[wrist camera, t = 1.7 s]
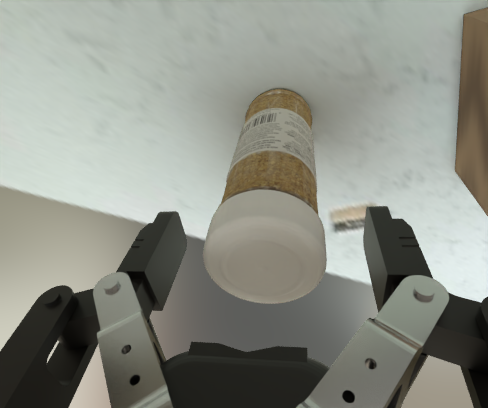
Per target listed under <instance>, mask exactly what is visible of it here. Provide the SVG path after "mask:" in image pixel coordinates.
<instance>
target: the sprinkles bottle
mask: <svg viewBox="0 0 488 408" xmlns="http://www.w3.org/2000/svg"><path fill="white" fill-rule="evenodd" d="M311 125H312V116H311V111H310V109H309V107H308V105H307V103H306V102H305V101H304V99H303V98H302V97H301V96H299V95H297V94H296V93H294V92H291V91H288V90H282V89H274V90H271V91H267V92H265V93H264V94H261V95H259V96H258V97H257V98H256V99H255V100H254V101H253V102H252V103H251V104H250V106H249V109H248V111H247V113H246V118H245V125H244V127H243V129H242V131H241V134H240V137H239V140H238V143H237V146H236V150H235V153H234V156H233V159H232V163H231V166H230V169H229V172H228V176H227V181H226V182H227V184H226V188H225V192H224V196H223V199H222V202H221V204H220V206H219V207H218V209H217V210H216V212H215V214H214V215H213V218H212V220H211V223H210V227H209V230H208V233H207V237H206V241H205V245H204V249H203V259H204V264H205V267H206V269H207V272H208V273H209V275H210V277H211V278H212V279H213V280H214V282H215V283H216V284H217V285H218V286H220V287H221V288H222V289H224V290H225V291H227V292H229V293H230V294H232V295H234V296H236V297H239V298H241V299H244V300H248V301H252V302H258V303H283V302H288V301H292V300H295V299H298V298H300V297H302V296H304V295H306V294H308V293H309V292H310V291H312V290H313V289H314V288H315V287H316V286H317V285H318V284H319V283H320V281H321V279H322V277H323V275H324V273H325V269H326V261H327V259H326V245H325V234H324V228H323V224H322V222H321V220H320V218H319V216H318V209H317V198H316V194H317V182H316V170H315V160H314V146H313V136H312V132H311Z"/></svg>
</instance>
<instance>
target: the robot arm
mask: <svg viewBox="0 0 488 408" xmlns="http://www.w3.org/2000/svg"><path fill="white" fill-rule="evenodd" d="M363 241H364V251H365V255H366V260H367V264H368V269H369V273H370V278H371V282H372V286H373V291H374V295H375V300H376V304H377V309H378V314H377V316H376V317H375V318H374V319H371V318H369V319H367V320H366V321H365V322H364V324H363V325H362V326H361V328H360V329H359V330H358V332H357V333H356V334H355V336H354V337H353V338H352V339H351V341H350V342H349V343H348V345H347V346H346V347H345V349H344V350H343V352H342V353H341V354H340V355H339V357H338V358H337V360H336V361H335V362H334V363H333V365H332V366H331V367H330V368H329V367H328V366H326V365H324V364H323V363H321V362H319V361H317V360H315V359H312V358H309V357H307V348H300V347H280V346H278V347H272V348H266V349H262V350H256V351H251V352H244V351H240V350H237V349H234V348H231V347H228V346H225V345H222V344H219V343H203V342H191V345H190V349H189V351H187V352H184V353H181V354H178V355H176V356H174V357H172V358H170V359H169V360H166V358H165V356H164V353H163V351H162V348H161V346H160V343H159V340H158V337H157V335H156V333H155V330H154V327H153V324H152V322H151V319H150V314H151V312H152V310H155V311H162V310H163V307H164V305H165V302H166V300H167V297H168V295H169V292H170V290H171V287H172V284H173V282H174V279H175V277H176V274H177V272H178V269H179V267H180V264H181V261H182V259H183V256H184V254H185V251H186V247H187V239H186V235H185V232H184V229H183V226H182V223H181V220H180V216H179V214H178V212H176V211H174V212H159V213H158V215H157V217H156V219H155V220H154V222H153V223H149V224H148V225H146V226H145V227H144V228H143V229H142V230H141V231H140V232H139V234H138V236H137V237H136V239H135V241H134V242H133V244H132V246H131V248H130V250H129V251H128V253H127V255H126V256H125V258H124V259H123V261H122V263H121V265H120V267H119V268H118V270H117V271H116V273H112V274H109V275H107V276H105V277H104V278H102V279H101V280H100V281H99V282H98V283H97V284H96V285H95V287H94V289H90V290H86V291H82V292H79V293H73V291H72V289H71V288H70V287H68V286H63V285H62V286H57V287H54V288H51V289H50V290H48V291H46V292H45V293H43V294H42V295H41V296H40V297H39V298H38V299H37V300H36V302H35V303H34V305H33V306H32V307H31V309H30V310H29V312H28V313H27V314H26V316H25V317H24V319H23V320H22V322H21V323H20V324H19V326H18V327H17V329H16V330H15V331H14V333H13V334H12V336H11V337H10V339H9V340H8V341H7V343H6V344H5V346H4V347H3V348H2V350H1V351H0V408H68V407H69V405H70V403H71V401H72V399H73V397H74V394H75V392H76V390H77V388H78V386H79V384H80V382H81V379H82V377H83V375H84V373H85V371H86V368H87V366H88V364H89V362H90V360H91V358H92V356H93V354H94V351H95V349H96V347H97V345H98V343H99V348H100V353H101V358H102V363H103V368H104V373H105V378H106V383H107V388H108V393H109V398H110V403H111V408H401V406H402V404H403V401H404V399H405V397H406V395H407V393H408V391H409V389H410V388H411V386H412V384H413V382H414V381H415V379H416V377H417V375H418V373H419V371H420V370H421V368H422V366H423V364H424V363H425V361H426V359H427V357H428V355H430V356H433V357H436V358H439V359H442V360H445V361H448V362H451V363H454V364H457V365H460V366H461V370H462V373H463V376H464V379H465V382H466V385H467V388H468V391H469V394H470V397H471V400H472V403H473V406H474V408H488V297H486V298H485V299H484V300H483V301H482V303H480V302H476V301H473V300H469V299H465V298H461V297H458V296H455V295H453V294H450V293H448V292H447V290H446V288H445V287H444V286H443V285H442V284H441V283H439V282H438V281H436V280H434V279H433V277H432V275H431V272H430V270H429V268H428V265H427V263H426V260H425V258H424V256H423V253H422V251H421V249H420V247H419V244H418V241H417V239H416V237H415V234H414V232H413V230H412V227H411V226H410V225H408V224H407V223H406V222H405V221H404V220H403V219H392V217H391V214H390V212H389V209H388V207H387V206H375V207H367V209H366V216H365V226H364V237H363ZM57 340H58V341H59V343H58V345H57V347H56V349H55V351H54V353H53V354H52V356H51V358H50V359H49V361H48V363H47V358H48V356H49V354H50V352H51V351H52V349H53V347H54V345H55V344H56V342H57ZM46 364H47V365H46Z"/></svg>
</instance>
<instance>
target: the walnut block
mask: <svg viewBox="0 0 488 408" xmlns="http://www.w3.org/2000/svg"><path fill="white" fill-rule="evenodd" d="M455 172H456V173H457V174H458V176H459V177H460V179H461V180H462V181H463V183H464V184H465V185H466V187H467V188H468V190H469V191H470V192H471V194H472V195H473V197H474V198H475V199H476V201H477V202H478V203H479V205H480V206H481V208H482V209H483V210H484V212H485V213H486V215H487V216H488V8H484V9H481V10H478V11H474V12H471V13H467V14H464V21H463V39H462V56H461V74H460V92H459V110H458V128H457V146H456V163H455Z"/></svg>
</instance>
